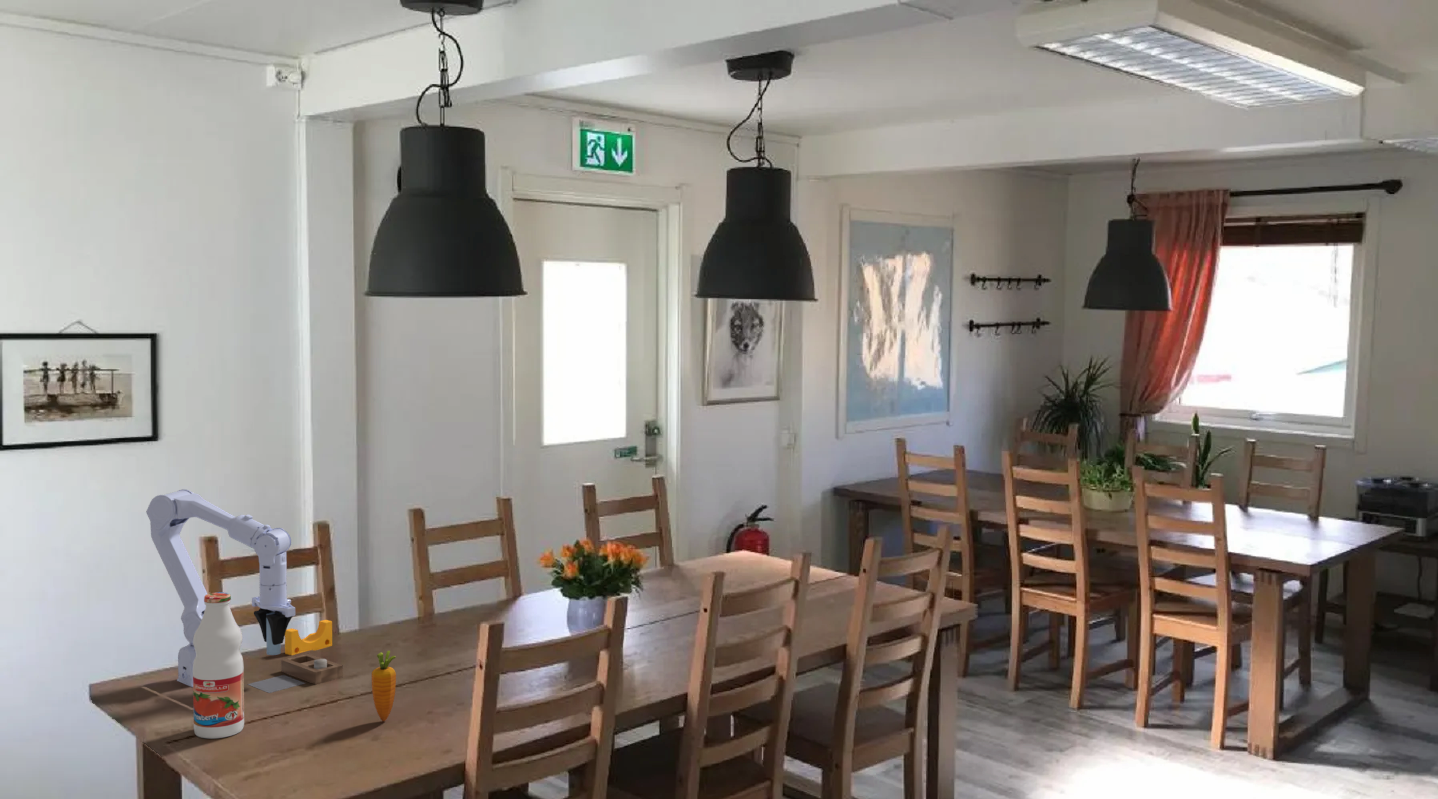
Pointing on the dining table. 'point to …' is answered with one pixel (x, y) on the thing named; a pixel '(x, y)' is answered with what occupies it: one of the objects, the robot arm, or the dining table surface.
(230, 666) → the white yogurt drink bottle
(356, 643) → the dining table surface
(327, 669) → the hole block
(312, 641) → the pipe clamp
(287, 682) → the mat
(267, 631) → the dowel
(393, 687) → the carrot
